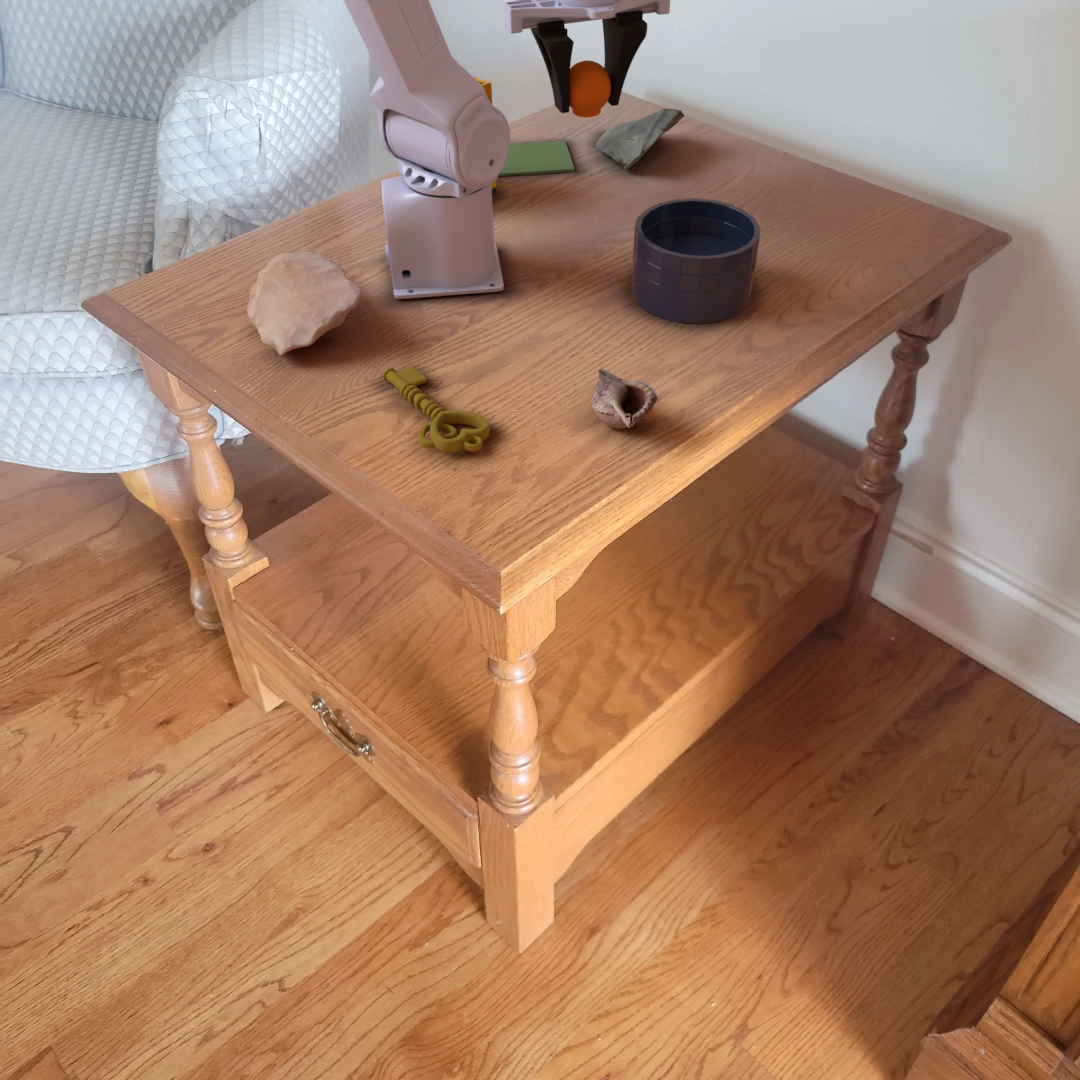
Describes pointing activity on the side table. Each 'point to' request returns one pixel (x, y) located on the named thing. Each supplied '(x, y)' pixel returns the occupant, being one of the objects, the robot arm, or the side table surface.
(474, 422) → the key
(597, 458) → the side table surface
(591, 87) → the orange
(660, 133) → the stone
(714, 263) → the pot
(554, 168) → the green flat plate
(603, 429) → the side table surface
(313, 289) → the stone tool
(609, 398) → the seashell
